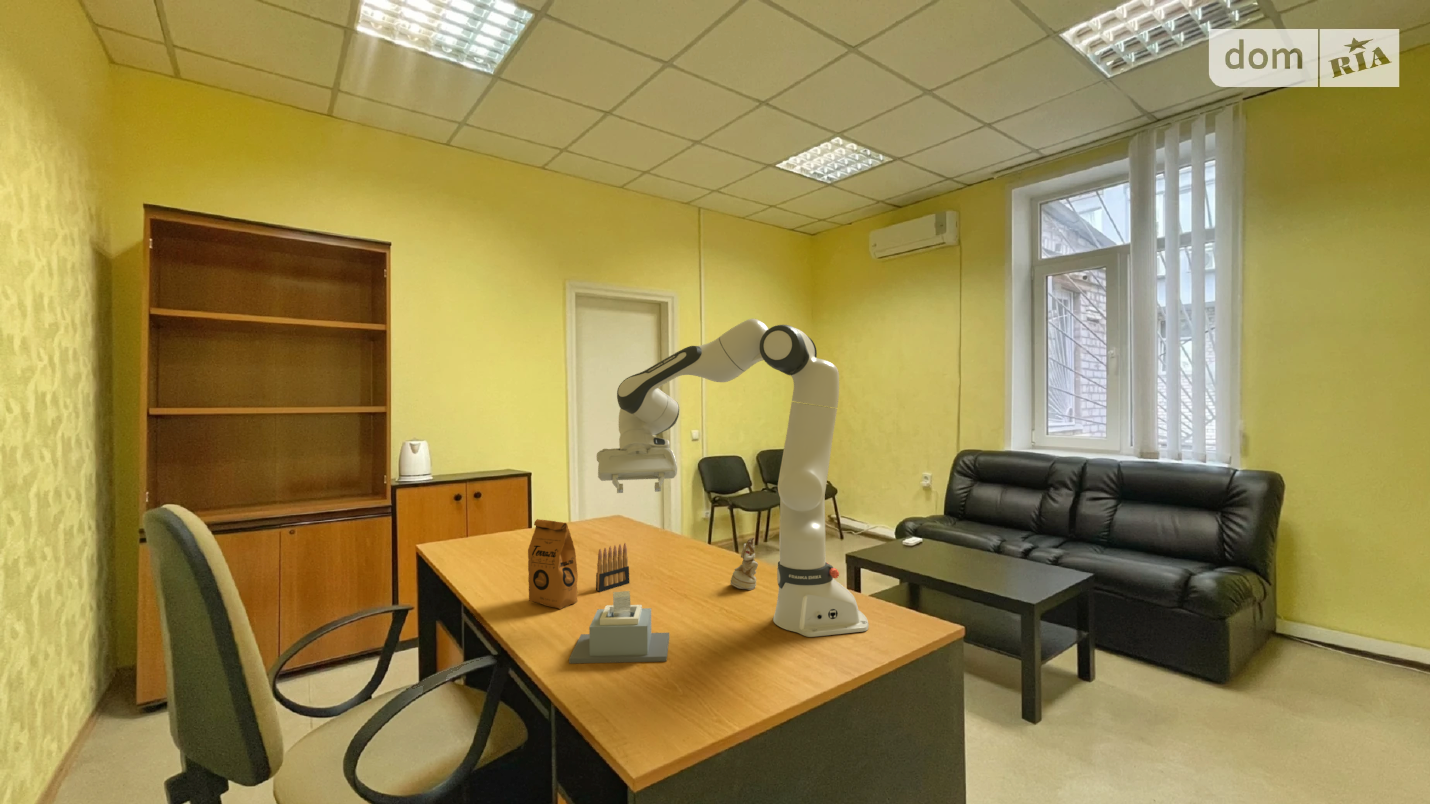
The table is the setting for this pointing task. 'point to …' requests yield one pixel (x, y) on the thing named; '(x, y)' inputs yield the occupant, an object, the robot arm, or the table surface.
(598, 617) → the block
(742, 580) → the figurine
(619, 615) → the shaft
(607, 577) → the ammunition clip
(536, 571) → the coffee package
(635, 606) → the frame
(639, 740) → the table surface
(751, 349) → the robot arm
